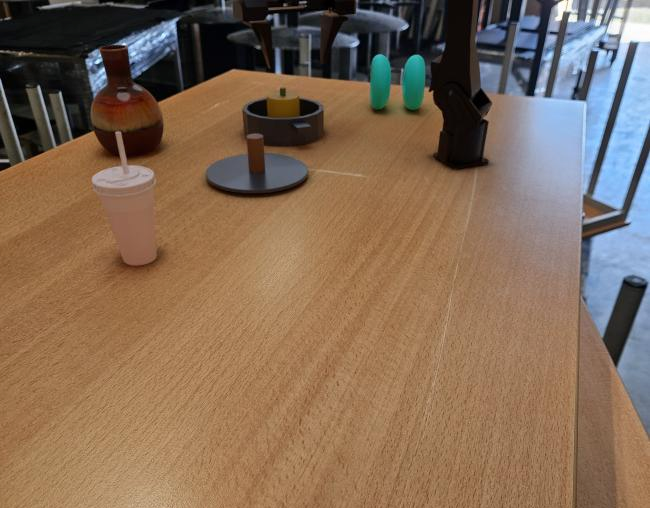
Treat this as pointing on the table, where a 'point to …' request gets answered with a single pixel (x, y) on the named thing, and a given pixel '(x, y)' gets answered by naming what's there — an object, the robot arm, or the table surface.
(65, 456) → the table surface
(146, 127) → the vase
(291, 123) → the pan
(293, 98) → the pepper
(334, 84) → the table surface
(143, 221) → the smoothie
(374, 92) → the teal upright capsules
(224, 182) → the pan lid
